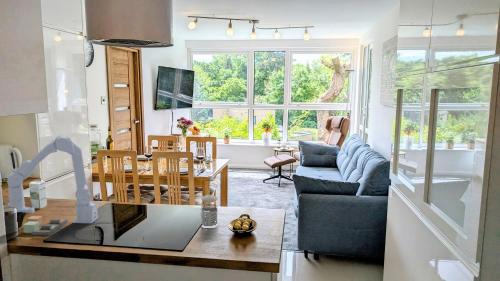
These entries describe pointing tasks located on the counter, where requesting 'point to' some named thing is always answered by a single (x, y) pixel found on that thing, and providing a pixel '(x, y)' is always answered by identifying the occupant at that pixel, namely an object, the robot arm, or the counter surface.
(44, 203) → the syrup box
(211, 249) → the counter surface
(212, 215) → the french press
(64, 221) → the cable comb
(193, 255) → the counter surface
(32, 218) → the terracotta plug
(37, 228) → the sage plug
